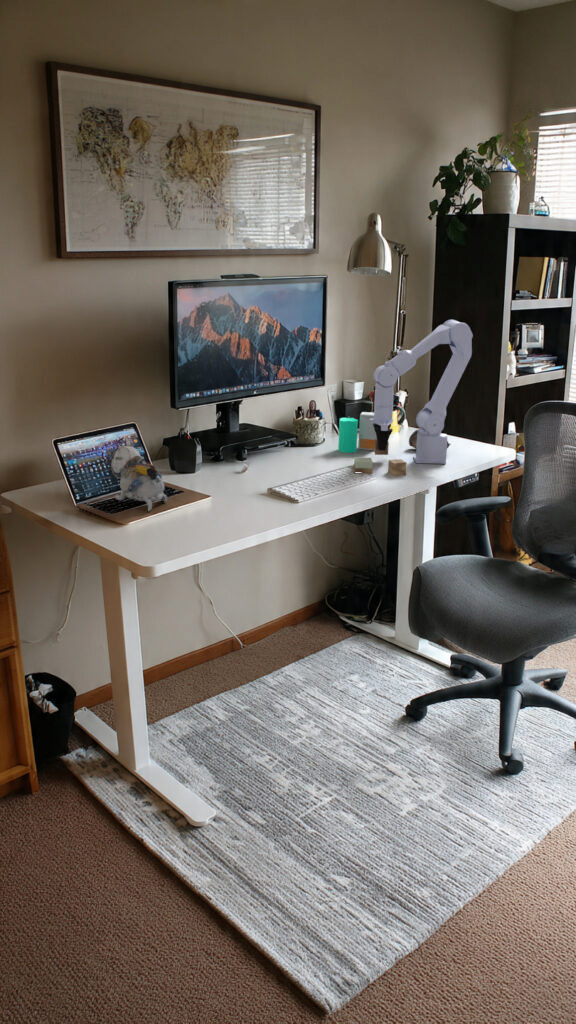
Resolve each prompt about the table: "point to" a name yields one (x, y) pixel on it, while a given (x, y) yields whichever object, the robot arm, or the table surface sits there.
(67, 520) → the table surface
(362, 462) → the slab top
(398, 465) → the oak cube
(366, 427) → the skincare box
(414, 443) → the bison figurine
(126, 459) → the robotic toy
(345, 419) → the candle
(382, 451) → the walnut cube
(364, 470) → the slab bottom
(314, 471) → the table surface
